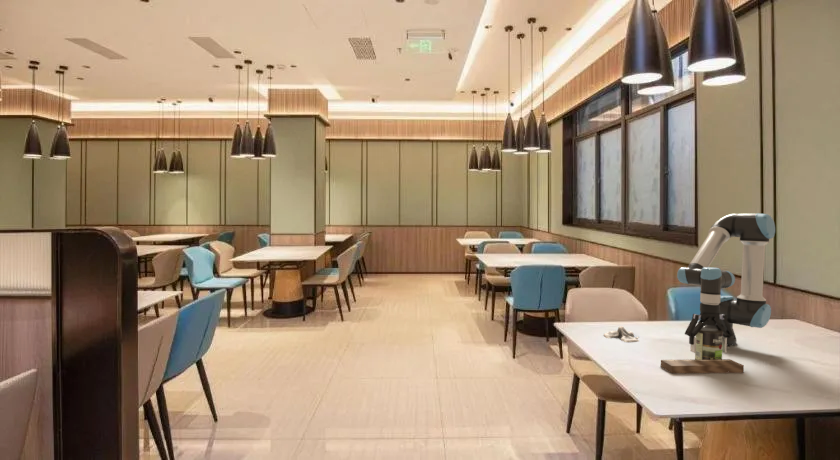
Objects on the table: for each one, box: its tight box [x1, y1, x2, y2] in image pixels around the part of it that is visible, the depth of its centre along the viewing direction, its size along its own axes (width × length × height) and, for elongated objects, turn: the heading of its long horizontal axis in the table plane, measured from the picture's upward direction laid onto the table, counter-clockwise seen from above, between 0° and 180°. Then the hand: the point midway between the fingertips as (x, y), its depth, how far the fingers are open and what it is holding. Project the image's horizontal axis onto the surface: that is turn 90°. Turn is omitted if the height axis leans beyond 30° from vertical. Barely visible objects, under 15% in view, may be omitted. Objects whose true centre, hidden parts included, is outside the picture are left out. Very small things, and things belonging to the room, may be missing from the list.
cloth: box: [603, 325, 640, 343], centre depth 251 cm, size 22×19×6 cm
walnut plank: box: [660, 358, 745, 374], centre depth 198 cm, size 30×8×3 cm, turn 93°
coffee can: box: [694, 326, 723, 360], centre depth 209 cm, size 10×10×14 cm
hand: (708, 351), depth 209 cm, fingers open, 13 cm apart
